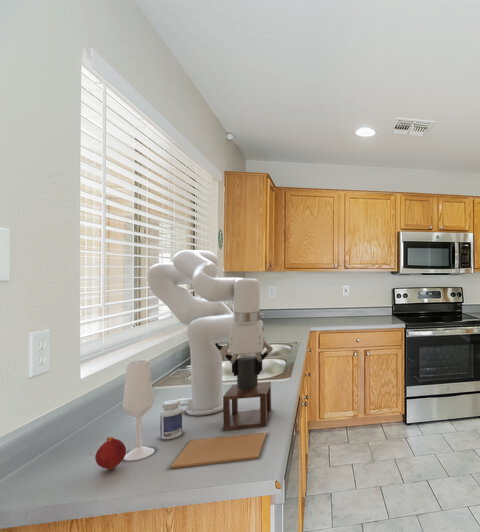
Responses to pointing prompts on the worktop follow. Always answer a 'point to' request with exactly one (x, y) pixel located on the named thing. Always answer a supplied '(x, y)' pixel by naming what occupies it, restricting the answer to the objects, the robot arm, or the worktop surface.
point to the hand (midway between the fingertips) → (247, 373)
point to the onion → (110, 453)
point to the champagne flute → (138, 402)
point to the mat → (220, 450)
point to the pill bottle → (171, 420)
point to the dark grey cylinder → (246, 372)
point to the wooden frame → (247, 417)
